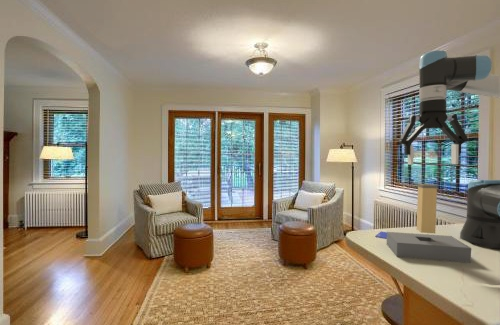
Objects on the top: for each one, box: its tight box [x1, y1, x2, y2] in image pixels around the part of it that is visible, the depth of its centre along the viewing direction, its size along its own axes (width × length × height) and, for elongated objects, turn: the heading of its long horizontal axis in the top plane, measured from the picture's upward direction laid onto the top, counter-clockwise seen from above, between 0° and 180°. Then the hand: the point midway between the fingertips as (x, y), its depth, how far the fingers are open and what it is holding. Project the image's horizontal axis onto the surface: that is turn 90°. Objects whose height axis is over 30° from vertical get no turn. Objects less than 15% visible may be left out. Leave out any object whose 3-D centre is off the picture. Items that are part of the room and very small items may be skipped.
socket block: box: [386, 231, 472, 264], centre depth 91 cm, size 20×12×5 cm, turn 78°
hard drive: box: [375, 231, 388, 240], centre depth 106 cm, size 2×8×12 cm
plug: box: [416, 183, 439, 234], centre depth 90 cm, size 4×4×15 cm
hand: (432, 164), depth 94 cm, fingers open, 13 cm apart
